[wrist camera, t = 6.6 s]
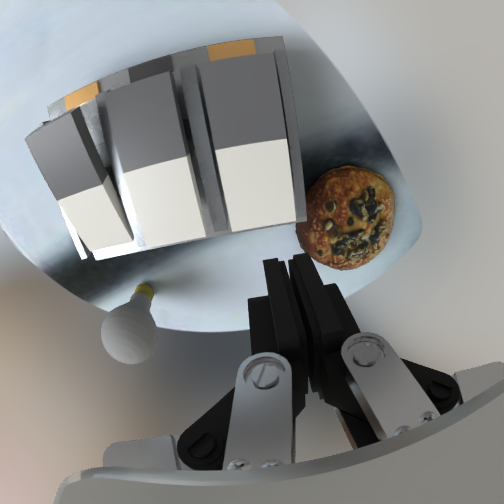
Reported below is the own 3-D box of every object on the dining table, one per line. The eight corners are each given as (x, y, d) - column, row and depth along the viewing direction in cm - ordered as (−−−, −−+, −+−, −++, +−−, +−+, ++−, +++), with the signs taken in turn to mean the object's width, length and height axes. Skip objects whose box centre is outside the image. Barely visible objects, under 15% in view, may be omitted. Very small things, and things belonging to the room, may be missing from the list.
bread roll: (271, 200, 25) (289, 220, 21) (362, 142, 24) (394, 150, 20) (318, 279, 30) (338, 305, 26) (392, 226, 29) (419, 244, 25)
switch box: (77, 103, 18) (27, 109, 12) (272, 50, 18) (290, 25, 11) (115, 234, 25) (84, 277, 19) (293, 199, 25) (316, 236, 18)
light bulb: (143, 258, 27) (113, 326, 18) (179, 291, 29) (164, 364, 21) (114, 283, 28) (83, 349, 20) (148, 313, 31) (129, 381, 22)
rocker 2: (113, 94, 13) (104, 93, 12) (173, 74, 13) (168, 71, 11) (152, 238, 18) (147, 248, 17) (207, 227, 18) (206, 236, 16)
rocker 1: (35, 129, 11) (24, 138, 11) (80, 105, 11) (70, 112, 11) (94, 239, 19) (90, 251, 18) (136, 229, 19) (133, 241, 18)
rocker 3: (201, 67, 13) (198, 63, 11) (269, 56, 12) (272, 52, 11) (231, 222, 18) (232, 232, 16) (291, 212, 18) (296, 221, 16)
